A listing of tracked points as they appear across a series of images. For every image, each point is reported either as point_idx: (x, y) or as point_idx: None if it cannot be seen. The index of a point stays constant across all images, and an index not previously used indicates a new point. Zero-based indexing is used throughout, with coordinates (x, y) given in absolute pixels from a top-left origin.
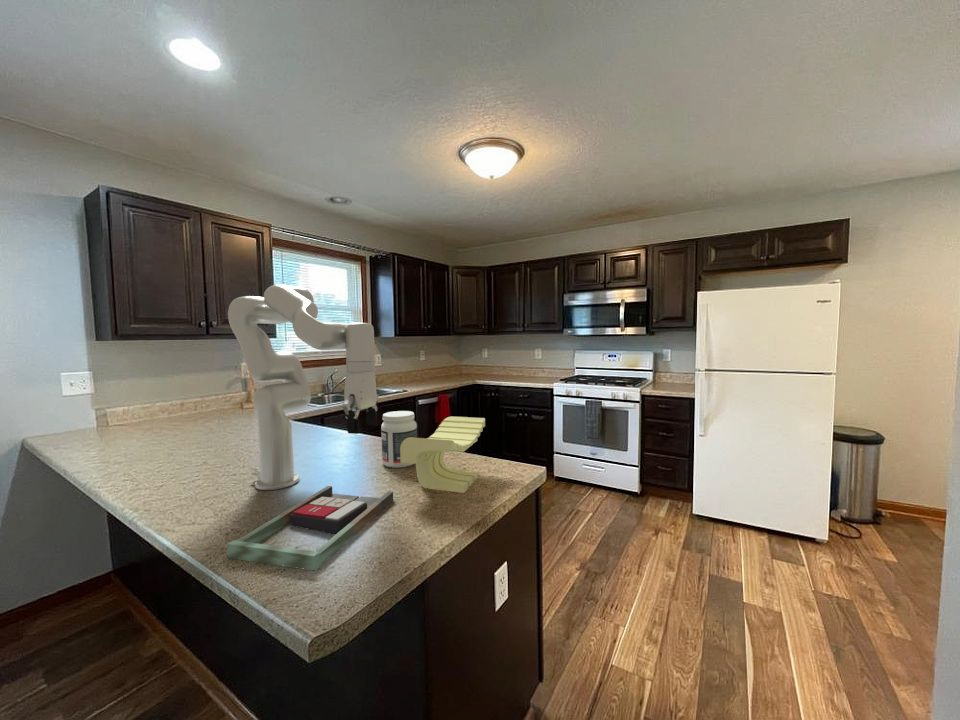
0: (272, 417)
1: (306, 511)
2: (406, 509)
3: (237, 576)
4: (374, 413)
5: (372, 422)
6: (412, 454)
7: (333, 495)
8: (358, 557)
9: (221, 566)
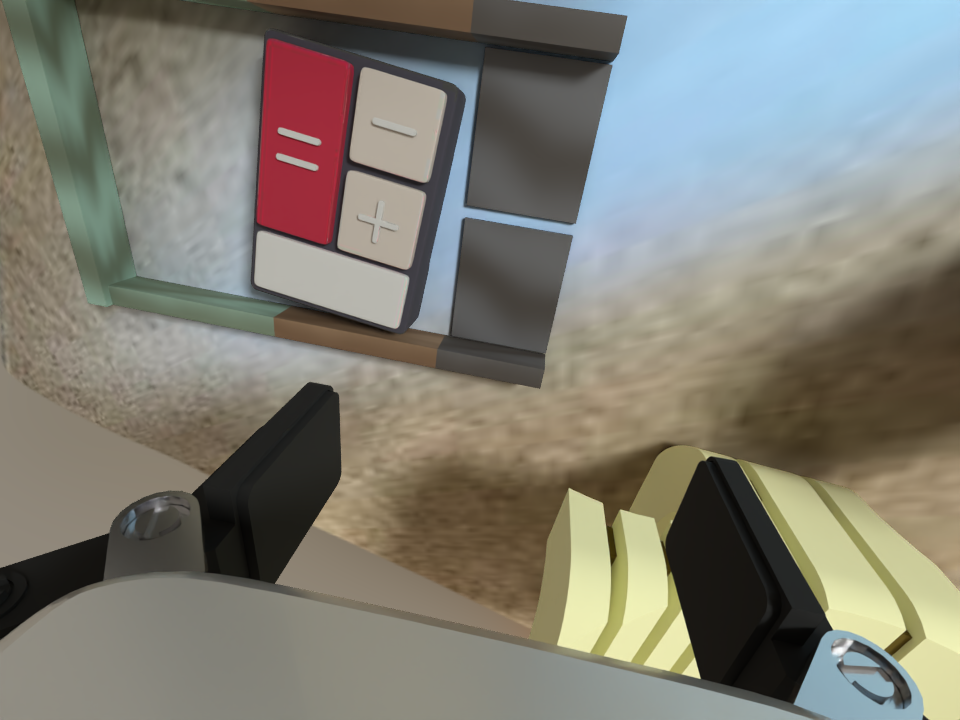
0: None
1: (280, 114)
2: (472, 425)
3: (10, 84)
4: (703, 679)
5: (684, 541)
6: (547, 574)
7: (588, 81)
8: (206, 369)
9: None
